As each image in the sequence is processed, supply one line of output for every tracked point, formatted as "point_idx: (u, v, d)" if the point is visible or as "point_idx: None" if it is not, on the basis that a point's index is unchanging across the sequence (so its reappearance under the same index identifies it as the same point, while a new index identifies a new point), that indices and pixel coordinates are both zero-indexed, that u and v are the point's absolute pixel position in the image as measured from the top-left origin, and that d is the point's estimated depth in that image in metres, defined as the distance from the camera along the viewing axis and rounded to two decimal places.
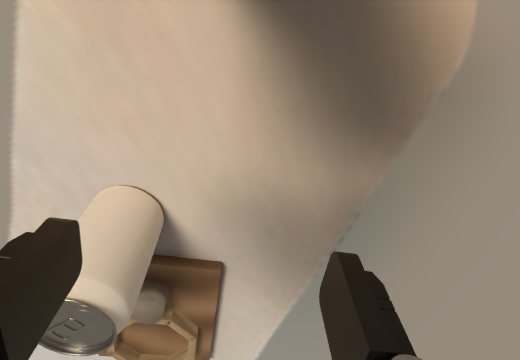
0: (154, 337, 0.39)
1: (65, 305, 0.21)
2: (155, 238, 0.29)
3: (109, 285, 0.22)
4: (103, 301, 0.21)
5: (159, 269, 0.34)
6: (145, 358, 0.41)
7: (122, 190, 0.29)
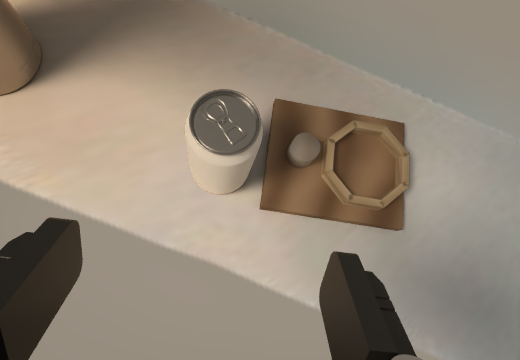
0: (368, 168, 0.40)
1: (201, 120, 0.27)
2: None
3: None
4: None
5: (274, 146, 0.39)
6: (397, 178, 0.39)
7: None
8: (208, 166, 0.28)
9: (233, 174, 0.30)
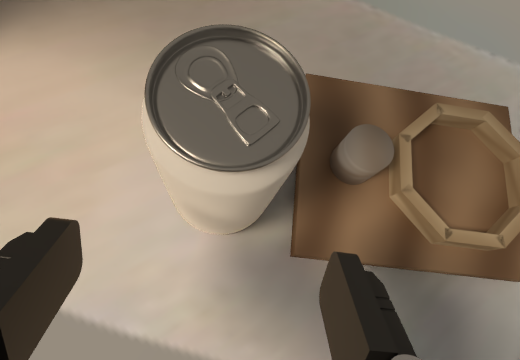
0: (462, 180, 0.24)
1: (174, 93, 0.12)
2: None
3: None
4: None
5: (310, 150, 0.23)
6: (514, 196, 0.24)
7: None
8: (195, 196, 0.13)
9: (248, 207, 0.15)
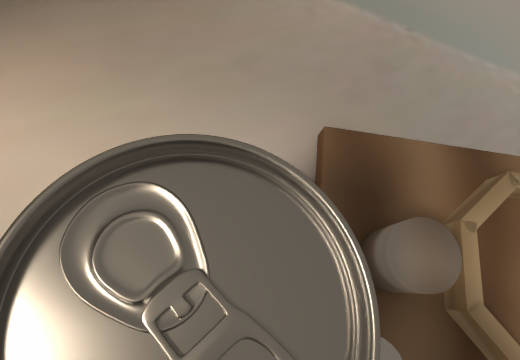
0: None
1: (52, 318, 0.05)
2: None
3: None
4: None
5: None
6: None
7: None
8: None
9: None
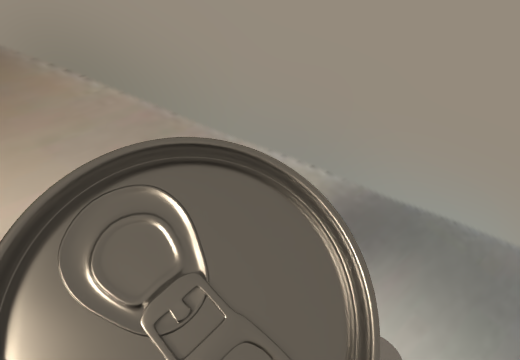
0: None
1: (51, 322, 0.05)
2: None
3: None
4: None
5: None
6: None
7: None
8: None
9: None
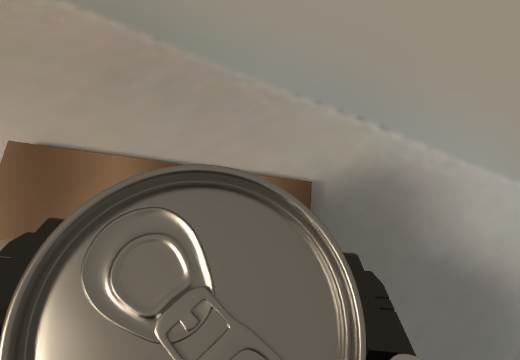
0: None
1: (75, 331, 0.05)
2: None
3: None
4: None
5: None
6: None
7: None
8: None
9: None
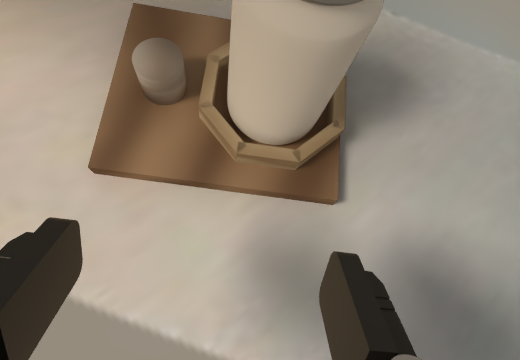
0: None
1: None
2: None
3: None
4: None
5: (123, 72, 0.24)
6: (329, 119, 0.24)
7: None
8: (282, 52, 0.14)
9: (321, 79, 0.16)
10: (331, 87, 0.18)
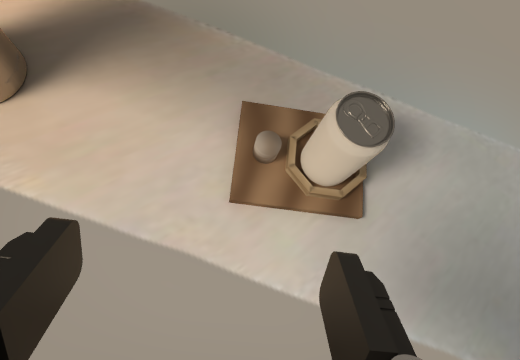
0: None
1: (344, 118, 0.32)
2: None
3: (334, 103, 0.33)
4: (342, 100, 0.32)
5: (242, 144, 0.42)
6: None
7: (301, 156, 0.41)
8: (346, 158, 0.33)
9: (361, 165, 0.35)
10: (363, 165, 0.36)
